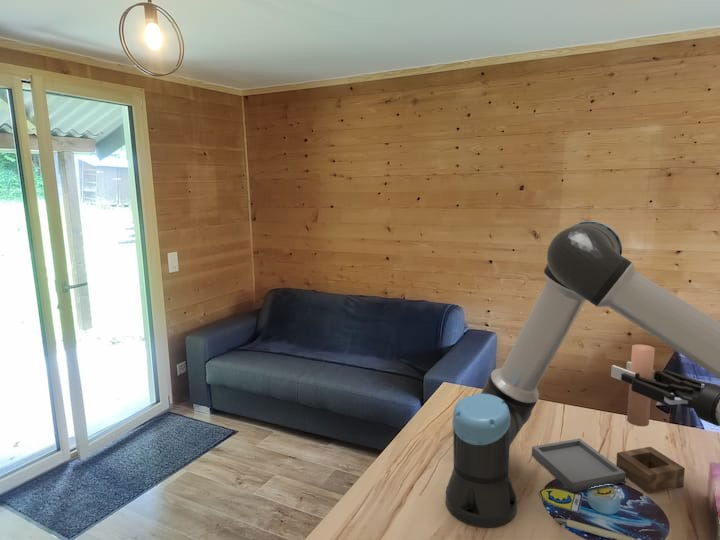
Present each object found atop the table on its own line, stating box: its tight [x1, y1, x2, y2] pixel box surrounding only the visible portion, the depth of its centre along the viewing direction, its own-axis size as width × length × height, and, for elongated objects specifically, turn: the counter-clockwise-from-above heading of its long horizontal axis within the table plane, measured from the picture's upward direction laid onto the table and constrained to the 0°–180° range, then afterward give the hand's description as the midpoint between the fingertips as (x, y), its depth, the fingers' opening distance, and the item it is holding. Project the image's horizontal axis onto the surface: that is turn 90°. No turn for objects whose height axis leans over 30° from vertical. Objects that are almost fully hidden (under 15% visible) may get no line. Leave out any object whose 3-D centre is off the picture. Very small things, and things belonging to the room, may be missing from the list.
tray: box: [531, 438, 626, 494], centre depth 118 cm, size 14×16×2 cm
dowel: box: [626, 344, 656, 427], centre depth 110 cm, size 4×4×18 cm
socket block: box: [615, 446, 686, 494], centre depth 113 cm, size 10×10×4 cm
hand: (620, 369), depth 114 cm, fingers closed on dowel, 4 cm apart
